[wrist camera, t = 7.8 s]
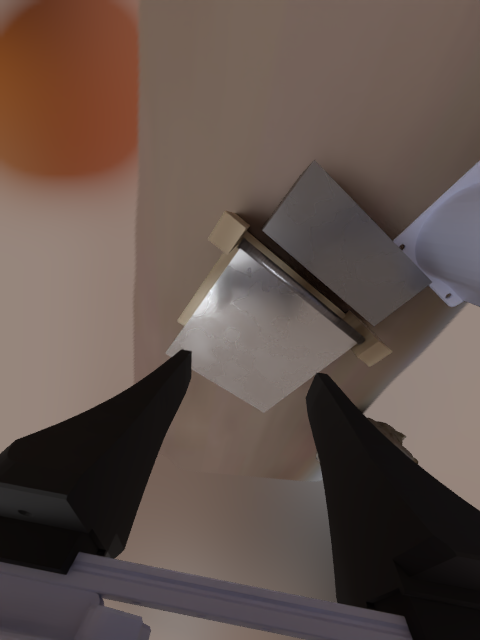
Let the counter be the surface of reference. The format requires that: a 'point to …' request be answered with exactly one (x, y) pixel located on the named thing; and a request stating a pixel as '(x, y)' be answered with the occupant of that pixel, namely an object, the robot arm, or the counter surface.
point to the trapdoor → (297, 295)
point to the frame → (233, 232)
